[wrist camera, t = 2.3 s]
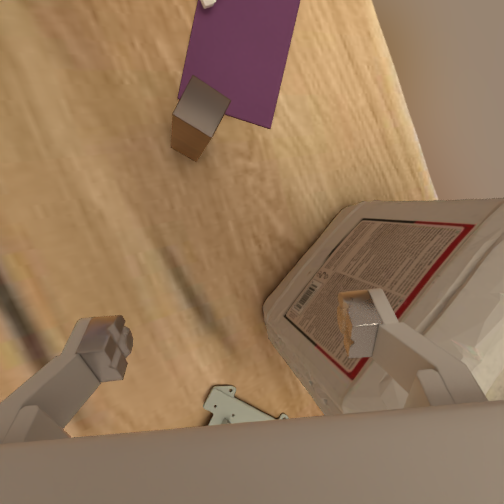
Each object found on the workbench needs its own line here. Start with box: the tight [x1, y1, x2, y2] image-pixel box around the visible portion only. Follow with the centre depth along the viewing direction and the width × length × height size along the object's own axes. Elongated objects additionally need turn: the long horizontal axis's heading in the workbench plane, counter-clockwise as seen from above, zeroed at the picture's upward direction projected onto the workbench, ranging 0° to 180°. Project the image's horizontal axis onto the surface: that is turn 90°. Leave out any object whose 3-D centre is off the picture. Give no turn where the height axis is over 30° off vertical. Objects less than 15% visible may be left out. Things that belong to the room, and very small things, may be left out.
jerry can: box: [263, 198, 504, 415], centre depth 34 cm, size 24×19×30 cm
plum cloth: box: [178, 0, 300, 129], centre depth 40 cm, size 12×18×1 cm, turn 166°
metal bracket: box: [203, 386, 289, 426], centre depth 46 cm, size 14×6×15 cm
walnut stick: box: [171, 75, 231, 162], centre depth 33 cm, size 4×4×15 cm
